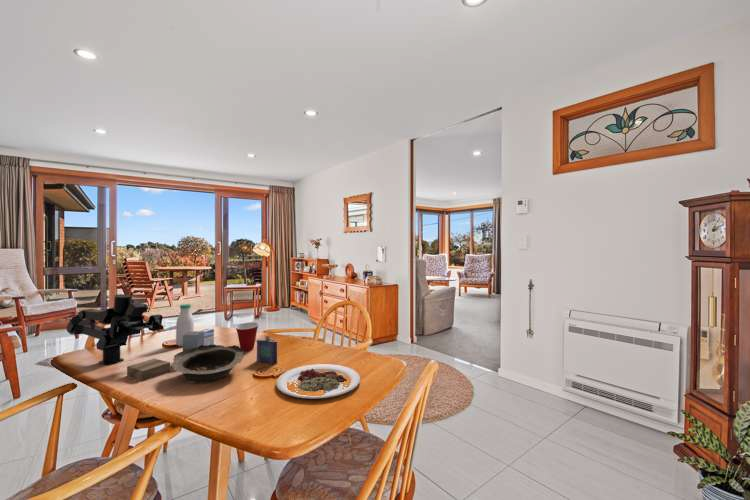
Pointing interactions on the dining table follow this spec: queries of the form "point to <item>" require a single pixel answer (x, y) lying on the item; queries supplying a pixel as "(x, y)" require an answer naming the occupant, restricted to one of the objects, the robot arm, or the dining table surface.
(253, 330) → the plastic cup
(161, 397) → the dining table surface
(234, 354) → the stone bowl
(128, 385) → the dining table surface
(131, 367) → the walnut block
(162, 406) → the dining table surface
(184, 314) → the milk bottle
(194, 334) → the slate tin
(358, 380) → the plated food
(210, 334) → the medicine box
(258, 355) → the flask
